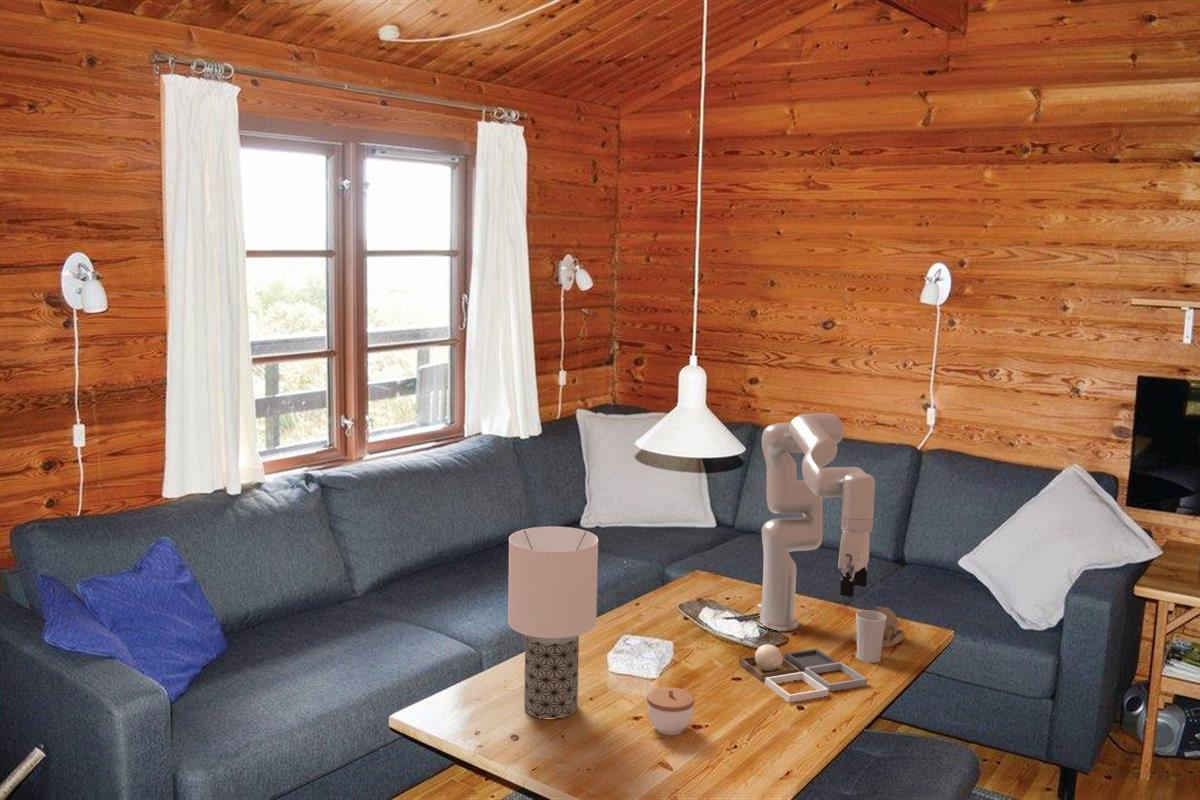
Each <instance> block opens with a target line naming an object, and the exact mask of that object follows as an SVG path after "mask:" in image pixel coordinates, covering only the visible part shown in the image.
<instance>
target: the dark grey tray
mask: <svg viewBox="0 0 1200 800" xmlns="http://www.w3.org/2000/svg"><path fill="white" fill-rule="evenodd" d="M783 658H784V659H785V660H787V661H789V662H790V663H791V664H793V665H794V666H796V667H797V668H798V669H799V671H800V672H804V669H805V668H806V667H812V666H819V665H825V664H831V663H838V662H839V661H837V660H835V659H833V658H832V657H830V656H829V655H828V654H826V653H824V652H822V651H821V650H819V649H818V648H811V649H805V650H804V649H803V650H798V651H792V652H790V651H789V652H785V653H784V657H783Z"/></svg>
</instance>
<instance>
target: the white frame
mask: <svg viewBox="0 0 1200 800" xmlns="http://www.w3.org/2000/svg"><path fill="white" fill-rule="evenodd" d="M794 680H796V681H801V680H802V681H803V682H805V683H806V684H807V685H809V686H810V687H812V688H813V689H815V690H809V691H808V690H807V691H803V692H796V693H792V694H790V693H789V692H788V691H787V690H784V689H783V688H782V687H781V686H779V684H783V683H782V682H784V683H789V682H788V681H790V682H794ZM777 683H778V684H777ZM764 685H765V686H766V685H767V686H766V687H767V688H769V689H770V690H771V689H772V690H771V691H772V692H774V693H775V692H776V693H775V694H777V695H778V696H779V697H781V698H782V699H783V698H784V699H783V700H785V701H786V702H787V703H788V704H790V702H791V703H795V702H796V701H797V702H801V701H802V700H803V701H807V699H808V700H813V699H812V698H814V699H819V697H820V698H825V697H824V696H826V697H828V696H829V691H828V689H827V688H826V687H824V686H823V685H821V684H820V683H819V682H817V681H816V680H814V679H813V678H811V677H810V676H808V675H807V674H806V673H804V672H803V671H799V672H798V673H792V674H785V675H779V676H773V677H766V678H765V681H764Z"/></svg>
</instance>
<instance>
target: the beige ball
mask: <svg viewBox="0 0 1200 800" xmlns="http://www.w3.org/2000/svg"><path fill="white" fill-rule="evenodd" d="M754 656H755V661H756V663H755V664H756V666H757V667H758V668H759V669H760V670H762V671H764V672H775V671H776V670H777V669H778V668H780V667H781V666H782V665H781V664H782V662H783V658H784V657H783V654H782V653H781V651H780V649H779V648H778V647H777V646H775V645H773V644H768V643H767V644H763V645H760V646H759V647H758V648H757V649H756V651H755V655H754Z"/></svg>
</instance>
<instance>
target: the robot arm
mask: <svg viewBox="0 0 1200 800" xmlns="http://www.w3.org/2000/svg"><path fill="white" fill-rule="evenodd" d="M844 430H845V428H844V424H843V422H842V420H841V418H839V416H838V415H836V414H834V413H827V412H825V413H803V414H799V415H796V416H795V417H793V419H792V420H791V421H790V422H780V423H773V424H769V425H768V426H766V427H765V428H764V430H763V432H762V434H761V435H762V436H761V447H762V452H763V453H762V454H763V455H764V459H765V464H766V505H767V508H768V510H769V511H770V512H771V513H773V514H779V515H789V514H802V517H787V518H786V517H785V518H783V517H781V518H772V519H769V520H767V521H766V522H764V524H763V525H762V528H761V540H762V541H761V542H762V553H763V565H762V567H763V568H762V569H763V570H762V590H761V591H762V593H761V603H758V604H757V608H758V610H759V609H760V614H758V615H757V616H760V620H759V621H760V623H762V624H763V625H765V626H767V627H769V628H771V629H773V630H777V631H776V632H788V631H789V632H790V631H794V630H796V629H798V628H799V626H800V620H799V619H797V618H796V617H795V607H796V606H795V605H796V603H795V602H796V589H797V588H796V586H797V585H796V584H797V565H796V562H795V561H794V559H793V558H792V556H791V555H790V553H791V552H802V551H803V552H805V551H814V550H817V549H818V548H820V546H821V545H822V542H823V511H824V510H823V499H824V498H842V506H841V519H840V521H841V524H840V529H841V530H842V533H841V537H840V544H839V553H838V554H839V555H838V562H837V565H838V569H839V570H841V571H840V590H839V591H840V593H839V594H840V596H844V597H847V598H853V597H854V595H855V593H854V592H855V586H856V587H862V588H865V587H867V585H868V584H867V583H868V568H869V567H868V564H869V561H870V546H871V545H870V542H871V541H870V538H871V536H870V534H871V532H873V525H874V524H873V523H874V509H875V508H874V507H875V506H874V505H875V490H876V487H875V486H876V481H875V478H874V476H873V475H871V474H868V473H867V472H865V471H864V470H863V469H862V468H860V467H858V466H837V467H836V466H834V467H833V466H832V467H830V466H829V467H825V466H826V465H828V464H830V463H831V462H832V461H833V460H834V459H835V457H836V456H837V454H838V445H837V444H839V443H840V442H841V441H842V440H843V438H844V435H845V434H844V433H845V431H844ZM791 453H792V454H794V453H796V454H797V453H803V455H804V456H803V459H802V462H801V463H802V464H801V473H802V478H803V479H802V480H801V479H799V480H798V479H797V478H798V477H797V472H798V471H797V467H798V466H797V463H796V461H795V459H794V458H793V456H792V455H791ZM773 630H772V631H773Z"/></svg>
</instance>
